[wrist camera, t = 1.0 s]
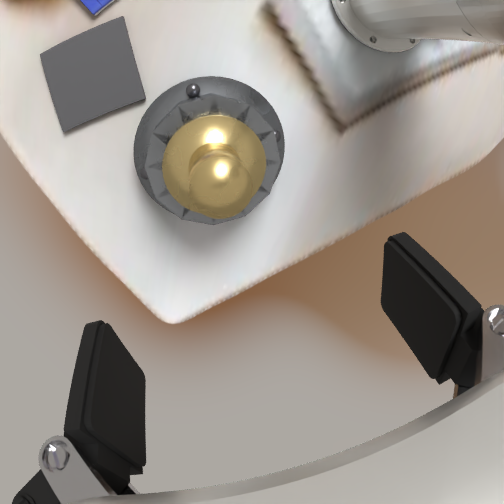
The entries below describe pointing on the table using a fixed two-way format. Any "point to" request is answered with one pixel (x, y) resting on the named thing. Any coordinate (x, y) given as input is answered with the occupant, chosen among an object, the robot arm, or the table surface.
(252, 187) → the brass flanged shaft
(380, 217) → the table surface
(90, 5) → the hard drive
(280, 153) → the housing
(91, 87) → the mat
